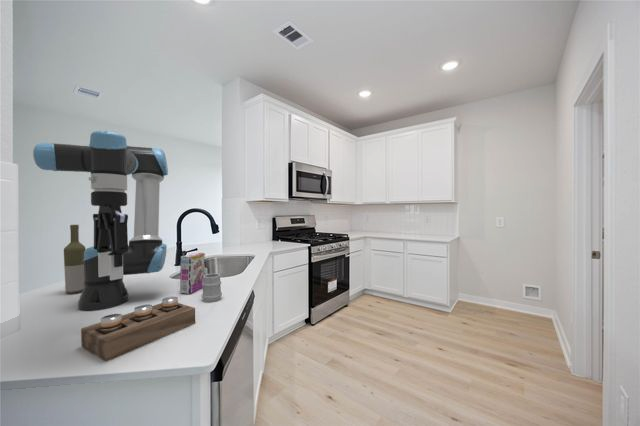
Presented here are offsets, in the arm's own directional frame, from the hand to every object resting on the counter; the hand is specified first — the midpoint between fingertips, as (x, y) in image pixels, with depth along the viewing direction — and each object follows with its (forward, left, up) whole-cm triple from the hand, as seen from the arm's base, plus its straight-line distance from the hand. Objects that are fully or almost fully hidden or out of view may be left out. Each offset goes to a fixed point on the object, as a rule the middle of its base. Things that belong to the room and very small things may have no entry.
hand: (110, 277), depth 69 cm
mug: (-9, +38, -19) cm, 43 cm away
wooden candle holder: (0, +8, -19) cm, 20 cm away
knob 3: (0, +16, -16) cm, 23 cm away
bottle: (-67, +14, -19) cm, 71 cm away
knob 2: (0, +8, -16) cm, 18 cm away
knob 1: (0, 0, -16) cm, 16 cm away
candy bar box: (-24, +41, -19) cm, 51 cm away
